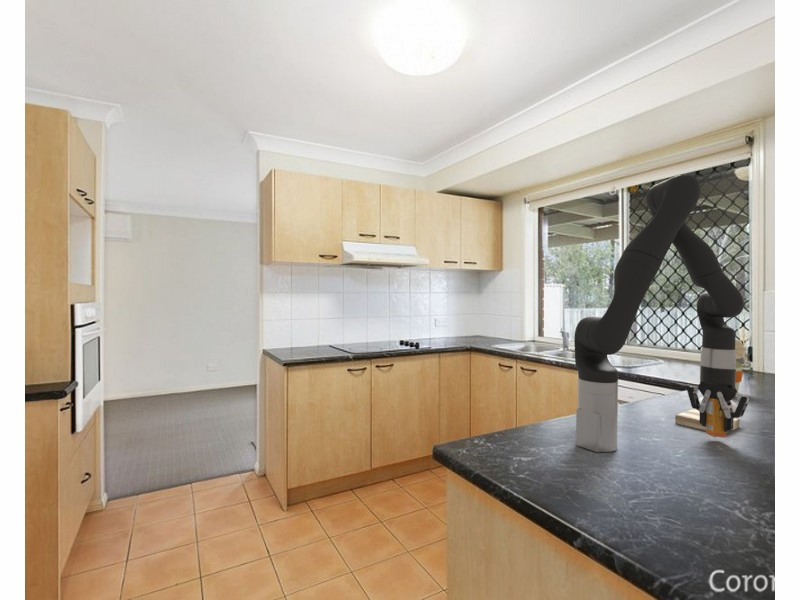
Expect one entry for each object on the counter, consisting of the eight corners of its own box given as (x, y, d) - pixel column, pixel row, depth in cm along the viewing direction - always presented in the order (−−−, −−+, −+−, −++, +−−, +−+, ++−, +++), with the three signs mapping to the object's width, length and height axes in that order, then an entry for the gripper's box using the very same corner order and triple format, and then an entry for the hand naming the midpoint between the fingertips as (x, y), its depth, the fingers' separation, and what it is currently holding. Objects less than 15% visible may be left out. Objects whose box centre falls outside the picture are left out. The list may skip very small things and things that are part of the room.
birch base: (722, 434, 115) (722, 425, 115) (675, 423, 125) (675, 414, 125) (739, 427, 121) (739, 418, 121) (693, 416, 131) (693, 408, 131)
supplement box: (717, 433, 111) (718, 396, 111) (726, 437, 108) (727, 400, 108) (704, 432, 112) (705, 396, 112) (713, 437, 108) (714, 399, 108)
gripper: (681, 362, 114) (679, 423, 114) (745, 370, 102) (743, 439, 102) (693, 360, 118) (691, 419, 118) (756, 368, 106) (754, 434, 106)
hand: (715, 428), depth 110 cm, fingers closed on supplement box, 4 cm apart
